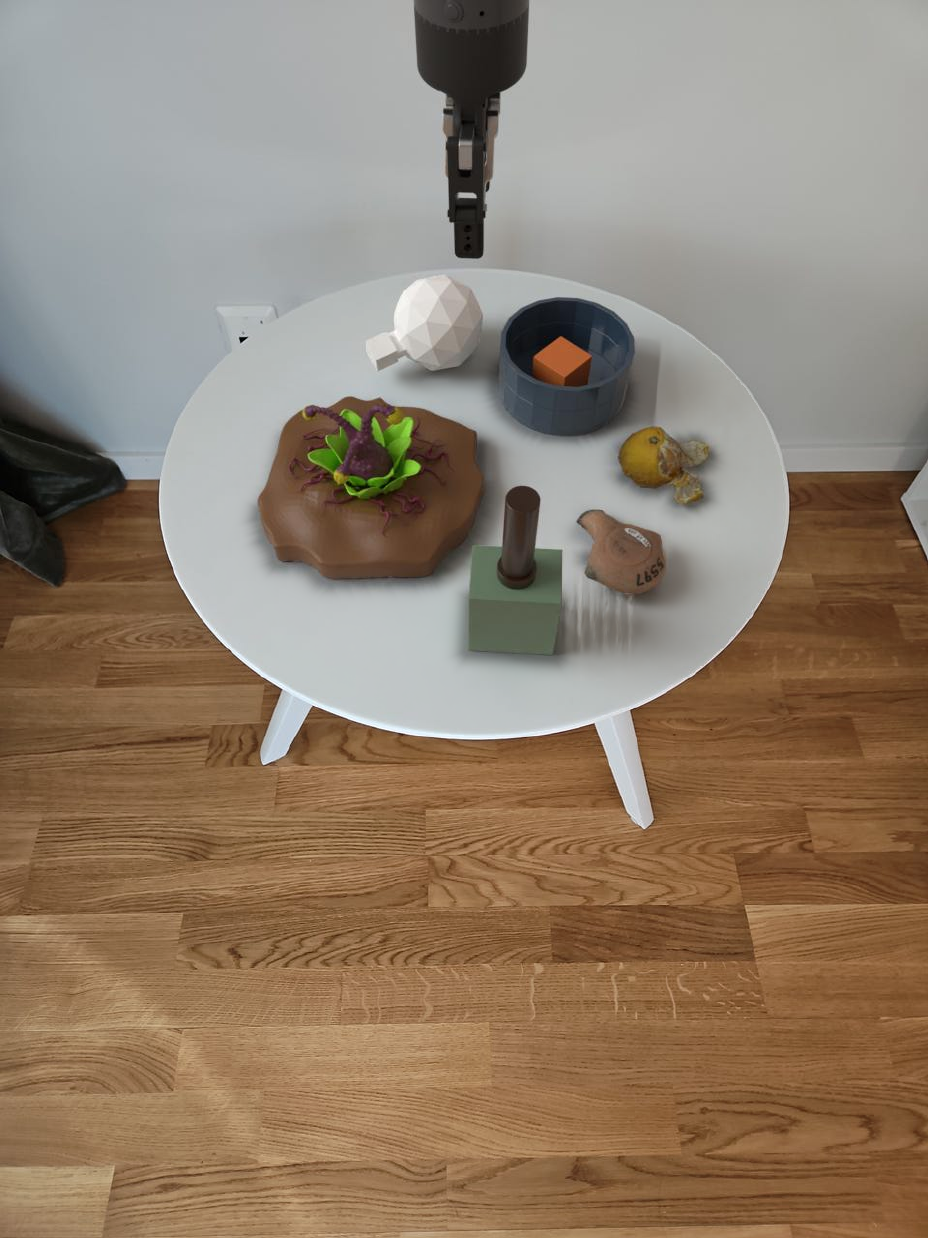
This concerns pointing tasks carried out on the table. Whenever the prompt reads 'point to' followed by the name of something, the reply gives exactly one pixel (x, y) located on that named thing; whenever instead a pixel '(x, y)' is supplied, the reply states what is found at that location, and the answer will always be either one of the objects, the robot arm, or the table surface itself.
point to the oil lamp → (622, 554)
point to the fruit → (663, 462)
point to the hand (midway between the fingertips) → (472, 221)
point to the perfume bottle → (431, 326)
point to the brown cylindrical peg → (519, 538)
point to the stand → (514, 605)
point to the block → (562, 364)
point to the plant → (371, 489)
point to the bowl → (563, 404)
